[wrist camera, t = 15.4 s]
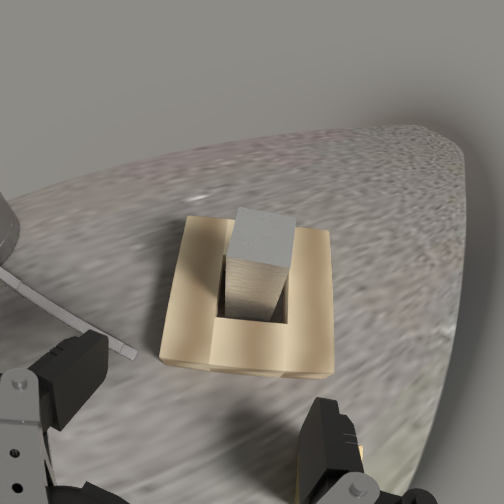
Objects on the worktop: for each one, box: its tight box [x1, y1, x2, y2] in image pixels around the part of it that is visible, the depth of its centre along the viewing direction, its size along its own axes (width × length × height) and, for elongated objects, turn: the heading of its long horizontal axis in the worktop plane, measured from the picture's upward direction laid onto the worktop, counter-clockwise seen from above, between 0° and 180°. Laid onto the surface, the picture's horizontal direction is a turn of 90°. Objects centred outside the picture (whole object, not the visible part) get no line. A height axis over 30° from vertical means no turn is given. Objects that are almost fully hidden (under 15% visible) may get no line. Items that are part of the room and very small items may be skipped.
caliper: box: [0, 267, 138, 361], centre depth 25 cm, size 20×1×6 cm, turn 71°
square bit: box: [225, 207, 296, 322], centre depth 26 cm, size 4×4×11 cm
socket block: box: [159, 216, 334, 379], centre depth 29 cm, size 14×14×3 cm
